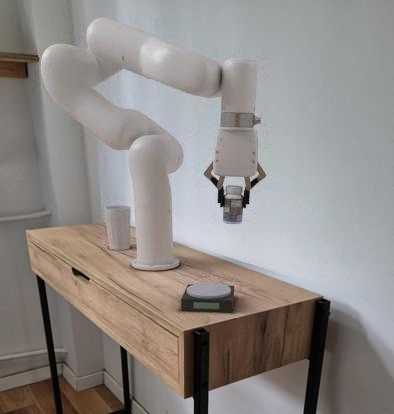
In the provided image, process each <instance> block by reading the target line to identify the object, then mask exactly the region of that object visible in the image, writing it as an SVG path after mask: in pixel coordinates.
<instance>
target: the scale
mask: <svg viewBox="0 0 394 414" xmlns="http://www.w3.org/2000/svg"><path fill="white" fill-rule="evenodd" d="M234 300H235V285H227V284H226V285H225V284H223V283H216V282H200V283H194V284H192V283H191V284H190V283H189V284H187V285H186V288H185V290H184V291H183V294H182V295H181V298H180V309H181V311H182V312H206V313H207V312H208V313H211V312H212V313H233V309H234V308H233V307H234Z"/></svg>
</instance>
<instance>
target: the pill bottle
mask: <svg viewBox="0 0 394 414" xmlns="http://www.w3.org/2000/svg"><path fill="white" fill-rule="evenodd" d="M224 192H225V193H224V204H223V207H222V223H224V224H226V225H240V224H242V223H243V217H244V215H243V214H244V208H243V198H244V194H243V192H244V188H243V186H242V185H234V184H233V185H232V184H229V185H226V186H225V189H224Z"/></svg>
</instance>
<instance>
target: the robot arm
mask: <svg viewBox="0 0 394 414" xmlns="http://www.w3.org/2000/svg"><path fill="white" fill-rule="evenodd" d="M85 41H86V45H87V48H85V47H84V48H83V47H80V46H77V45H74V44H73V45H72V44H69V43H54V44H51V45H49V46H48V47H47V48H45V50H44V51H43V52H42V55H41V59H40V73H41V78H42V81H43V85H44V87H45V89H46V91H47V93H48V95H49V96H50V97H51V99H52V100H53V102H55V104H56V105H57V106H58V107H59V108H60V109H61V110H63V111H64V112H65V113H66V114H67V115H69V116H70V117H71V118H73V120H75V121H76V122H78V123H79V124H80V125H81V126H82V127H84V128H85V130H87V131H88V132H90V133H91V134H93V136H95V137H96V138H97V139H99V140H100V141H101V142H103V144H104V145H106V146H108V148H111V149H112V150H115V151H128V156H127V161H128V167H129V173H130V177H131V183H132V192H133V193H132V194H133V206H134V207H133V209H134V225H135V226H134V227H135V245H136V257H135V258H133V259H132V260H131V267H133V268H134V269H136V270H141V271H167V270H172V269H174V268H177V267H179V265H180V260H179V258H178V257H174V231H173V230H174V229H173V197H172V187H171V182H170V179H169V178H170V177H169V175H170V174H174V173H176V172H177V171H178V170H179V169H180V168H181V167H182V166H183V162H184V160H185V159H184V157H185V155H184V154H185V153H184V149H183V146H182V144H181V143H180V141H179V140H178V139H177V138H176V137H175V136H173V134H171V133H170V132H169V131H168V130H166V129H165V128H163V127H162V126H161V125H160V124H159V123H157V122H156V121H155V120H153V119H152V118H150V117H149V116H148V115H147V114H145V113H143V112H141V111H140V110H136V109H132V108H123V107H120V106H117V105H116V104H114V103H113V102H112V101H111V100H109V99H107V98H106V97H105V96H103V95H102V94H101V93H100V92H99V91H97V90H95V88H93V87H97V86H98V85H100V84H102V83H103V82H105V81H107V80H108V79H110V78H111V77H114V76H115V75H116V74H118V73H120V72H121V71H123V70H126V71H129V72H131V73H133V74H136V75H138V76H141V77H144V78H146V79H148V80H153V81H156V82H157V83H160V84H162V85H165V86H168V87H170V88H173V89H176V90H178V91H180V92H183V93H185V94H189V95H191V96H195V97H202V98H206V99H214V98H220V97H221V98H220V99H221V100H220V127H219V129H217V130H216V134H215V139H214V146H213V147H214V149H213V158H212V159H213V160H212V161H211V163H210V164H209V165H208V166H207V167H206V169H205V171H204V172H203V176H204V177H205V178H206V179H207V180H209V181H210V182H211V184H212V185H213V186H214V187H215V188H216V189H217V204H219V208H223V204H224V195H225V186H224V182H225V180H226V177H232V178H243V179H244V184H245V187H244V189H243V197H244V198H243V209H247V205H250V197H251V190H252V189H253V188H254V187H255V186H256V185H257V184H259V183H260V182H261V181H263V180H264V179H265V178H266V177H267V174H266V172H265V170H264V168H263V167H262V166H261V164H260V162H259V137H258V136H259V135H258V130H257V129H255V126H256V125H261V124H262V123H261V122H262V121H261V120H262V117H258V116H257V115H255V113H256V99H257V84H258V64H257V61H256V60H255V59H253V58H251V57H250V58H249V57H230V58H227V59H226V60H224V61H220V60H215V59H212V58H210V57H207V56H205V55H202V54H199V53H196V52H194V51H191V50H188V49H186V48H182V47H180V46H177V45H175V44H172V43H169V42H166V41H164V40H163V39H161V38H160V36H158V35H155V34H153V33H150V32H147V31H144V30H143V29H139V28H136V27H134V26H131V25H128V24H126V23H122V22H120V21H117V20H114V19H113V18H109V17H98V18H95V19H94V20H92V21H91V22H90V24H89V25H88V27H87V29H86V35H85ZM212 172H213V173H212ZM257 173H258V175H256V174H257ZM213 174H214V175H213ZM216 176H217V177H218V178H217V177H216ZM254 176H255V177H254ZM252 177H254V178H253V179H252V180H251V178H252Z"/></svg>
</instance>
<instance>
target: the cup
mask: <svg viewBox="0 0 394 414" xmlns="http://www.w3.org/2000/svg"><path fill="white" fill-rule="evenodd" d="M131 212H132V207H131V206H130V205H122V204H121V205H120V204H119V205H107V206H104V207H103V213H104V219H105V225H106V226H105V227H106V232H107V233H106V234H107V238H108V246H109V247H108V248H109V250H114V251H124V250H129V249H131Z"/></svg>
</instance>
